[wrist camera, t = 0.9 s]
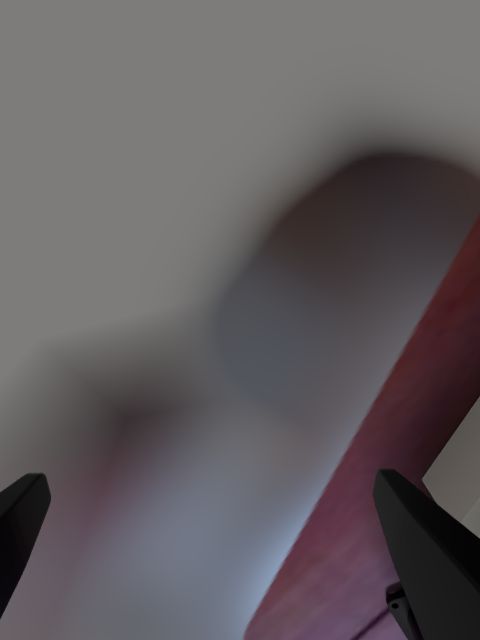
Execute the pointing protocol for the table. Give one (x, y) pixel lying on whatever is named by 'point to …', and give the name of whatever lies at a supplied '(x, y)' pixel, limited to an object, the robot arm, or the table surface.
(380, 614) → the table surface
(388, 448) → the table surface
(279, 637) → the table surface
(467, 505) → the switch box
